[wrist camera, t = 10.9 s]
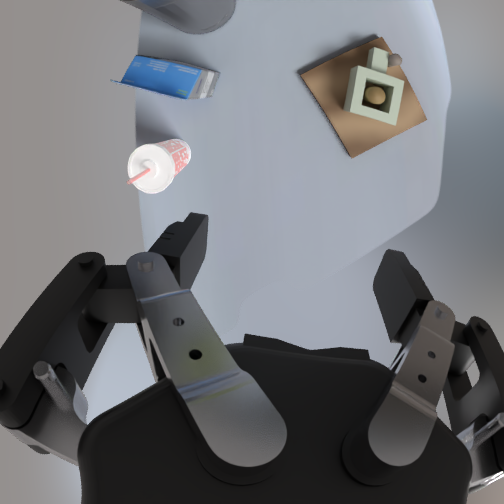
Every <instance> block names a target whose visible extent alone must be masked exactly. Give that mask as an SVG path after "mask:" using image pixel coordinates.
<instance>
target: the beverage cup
mask: <svg viewBox="0 0 504 504" xmlns="http://www.w3.org/2000/svg"><path fill="white" fill-rule="evenodd" d="M190 158H191V151H190V148H189V146H188V145H187V143H186V142H185V141H183V140H180V139H171V140H167V141H163V142H159V143H155V144H145V145H143V146H140V147H138V148H136V149H135V151H134V152H133V153H132V154H131V155H130V158H129V161H128V174H129V177H130V179H129V180H128V181H127V184H131V183H133V184H134V185H135V186H136V187H137V188H138V189H139V190H141V191H143V192H145V193H153V194H155V193H158V192H161V191H163V190H164V189H165V188H166V187H167V186H168V185H169V184H170V183H171V182H172V180H173V178H174V177H175V176H176V175H177V174H178V173H179V172H180V171H181V170H182V169H183V168H184V167H185V166H186V165H187V164H188V163H189V160H190Z"/></svg>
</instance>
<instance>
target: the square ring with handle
mask: <svg viewBox="0 0 504 504" xmlns="http://www.w3.org/2000/svg"><path fill="white" fill-rule="evenodd" d="M388 58H389V52H387V51H384V50H381V49H378V48H376V47H374V48H372V49H370V50H369V54H368V60H367V66H366V68H365V67H362V66H356V67H354V68H351V71H350V76H349V82H348V88H347V93H346V99H345V104H344V109H343V111H347V112H351V113H355V114H358V115H362V116H365V117H369V118H372V119H375V120H378V121H382V122H385V123H388V124H391V125H395V126H396V122H397V117H398V113H399V108H400V103H401V97H402V92H403V86H404V81H403V80H400V79H397V78H395V77H392V76H389V75H386V71H387V65H388ZM366 82H368V83H372V84H375V85H378V86H381V87H384V88H383V91H384V93H385V100H384V102H383V103H381V104H380V109H379V110H376V109H373V108H369V107H366V106H363V105H361V104H362V99H363V94H364V88H365V83H366Z"/></svg>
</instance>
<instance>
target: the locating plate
mask: <svg viewBox="0 0 504 504" xmlns="http://www.w3.org/2000/svg"><path fill="white" fill-rule="evenodd" d="M374 47H376V48H378V49H381V50H384V51H387V52H389V58H388V65H387V71H386V75H389V76H392V77H395V78H397V79H400V80H403V81H404V86H403V92H402V97H401V103H400V108H399V113H398V117H397V122H396V126H395V125H391V124H388V123H385V122H382V121H378V120H375V119H372V118H369V117H365V116H362V115H358V114H355V113H351V112H347V111H343V109H344V104H345V99H346V93H347V88H348V82H349V76H350V71H351V68H354V67H356V66H362V67H365V68H366V66H367V60H368V54H369V50H370V49H372V48H374ZM401 63H402V58H401V57H400V55H398V54H393V53H392V52H391V50H390V49H389V47H388V45H387V44H386V42H385V41H384V39H383V38H382V37H380V38H378V39H375V40H373V41H370V42H368V43H366V44H363V45H361V46H359V47H356V48H354V49H352V50H350V51H348V52H345V53H343V54H341V55H339V56H337V57H335V58H333V59H331V60H329V61H327V62H325V63H323V64H321V65H319V66H317V67H315V68H313V69H311V70H309V71H307V72H305V73H304V74H302V75H300V76H301V77H302V79H303V80H304V82H305V83H306V85H307V86H308V88H309V89H310V91H311V92H312V94H313V95H314V97H315V98H316V100H317V101H318V103H319V104H320V106H321V108H322V109H323V111H324V112H325V114H326V116H327V117H328V119H329V120H330V122H331V124H332V125H333V127H334V129H335V130H336V132H337V134H338V136H339V137H340V139H341V141H342V143H343V144H344V146H345V148H346V150H347V152H348V153H349V155H350V157H351V158H354V157H356V156H358V155H359V154H361V153H363V152H365V151H367V150H369V149H371V148H373V147H375V146H377V145H378V144H380V143H382V142H384V141H386V140H388V139H390V138H392V137H394V136H396V135H398V134H400V133H402V132H404V131H406V130H408V129H410V128H412V127H414V126H416V125H418V124H420V123H422V122H424V121H426V120H427V119H426V116H425V114H424V112H423V110H422V108H421V105H420V103H419V101H418V99H417V97H416V95H415V93H414V91H413V89H412V87H411V85H410V83H409V81H408V80H407V78H406V76H405V74H404V72H403V70H402V69H401V67H400V64H401ZM383 88H384V87H381V86H378V85H375V84H372V83H368V82H366V83H365V88H364V94H363V99H362V104H361V105H363V106H366V107H369V108H373V109H376V110H379V109H380V104H381V103H383V102H384V100H385V93H384V91H383Z"/></svg>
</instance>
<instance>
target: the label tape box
mask: <svg viewBox="0 0 504 504" xmlns="http://www.w3.org/2000/svg"><path fill="white" fill-rule="evenodd" d="M219 75H220V73H218V72H215V71H212V70H209V69H205V68H201V67H198V66H194V65H190V64H187V63H182V62H178V61H173V60H168V59H162V58H156V57H150V56H142V55H136V56H135V58H134V59H133V61H132V63H131V64H130V66H129V68H128V69H127V71H126V73H125V75H124V77H123V79H122V81H121V82H118V81H113V80H111V81H112V82H114V83H118V84H121V85H126V86H130V87H134V88H138V89H142V90H145V91H149V92H153V93H157V94H160V95H164V96H168V97H172V98H176V99H180V100H190V99H200V98H207V97H212V95H213V92H214V89H215V86H216V83H217V80H218V78H219Z"/></svg>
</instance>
